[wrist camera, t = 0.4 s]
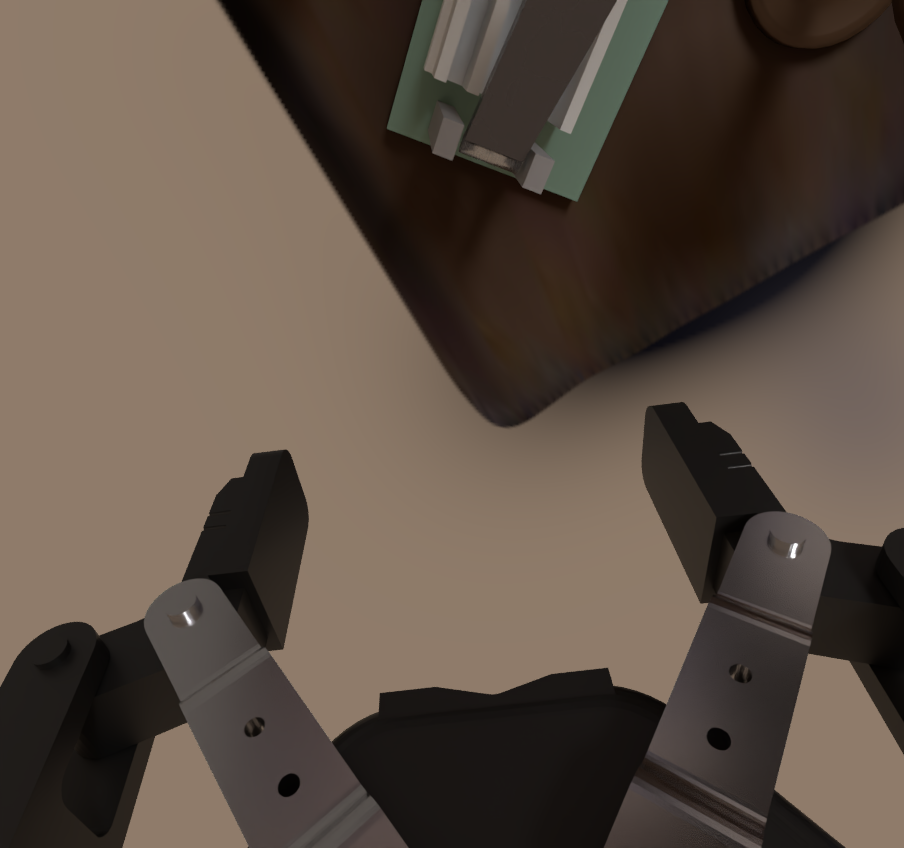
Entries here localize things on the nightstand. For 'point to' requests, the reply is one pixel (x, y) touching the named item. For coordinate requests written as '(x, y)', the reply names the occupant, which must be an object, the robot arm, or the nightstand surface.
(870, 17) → the candlestick
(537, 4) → the strap
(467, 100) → the heatsink board
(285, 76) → the nightstand surface
